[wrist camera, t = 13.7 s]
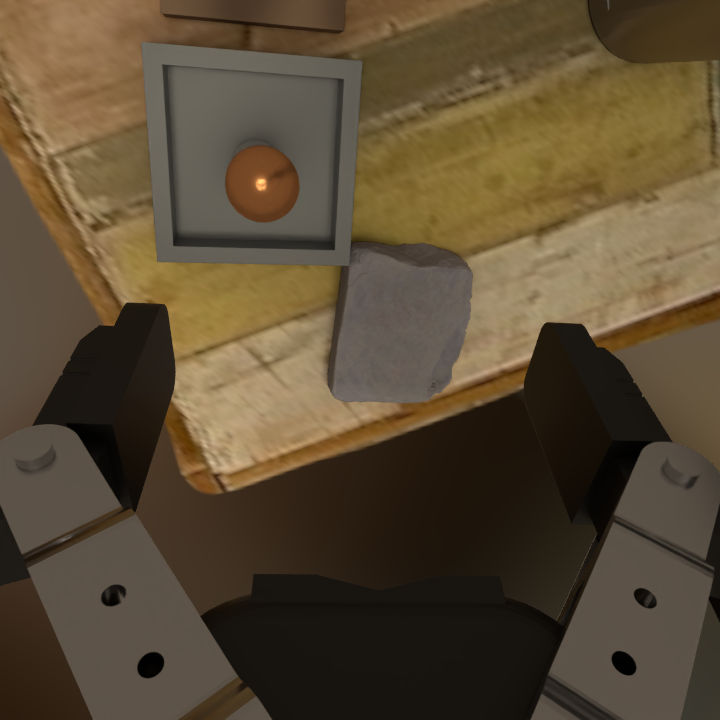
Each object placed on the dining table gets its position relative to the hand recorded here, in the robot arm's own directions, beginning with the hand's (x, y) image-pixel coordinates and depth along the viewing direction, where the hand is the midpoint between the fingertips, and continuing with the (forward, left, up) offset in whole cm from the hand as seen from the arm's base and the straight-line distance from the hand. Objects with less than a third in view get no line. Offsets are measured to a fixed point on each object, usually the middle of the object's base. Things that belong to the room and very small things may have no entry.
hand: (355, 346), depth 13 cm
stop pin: (+2, 0, -28) cm, 28 cm away
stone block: (-9, +10, -29) cm, 32 cm away
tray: (+2, -1, -29) cm, 29 cm away
